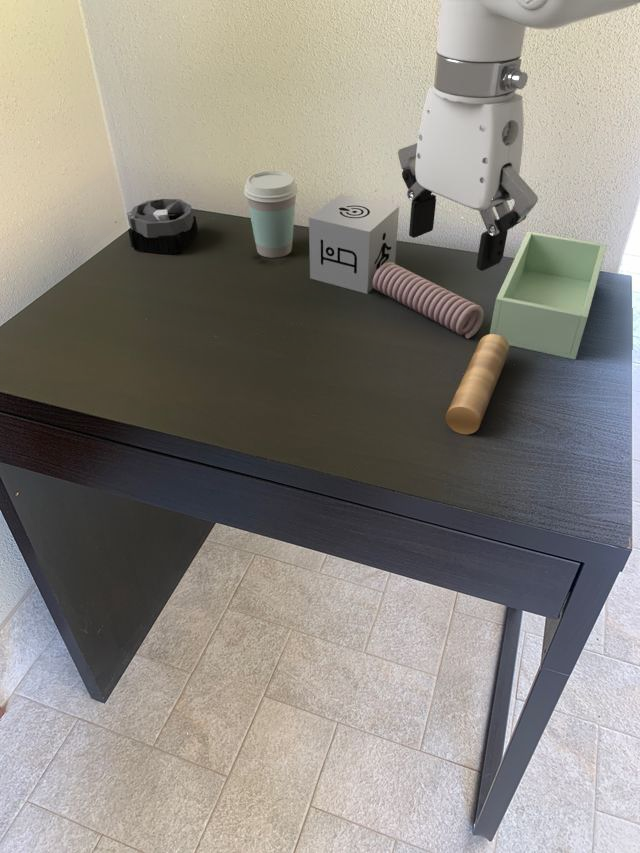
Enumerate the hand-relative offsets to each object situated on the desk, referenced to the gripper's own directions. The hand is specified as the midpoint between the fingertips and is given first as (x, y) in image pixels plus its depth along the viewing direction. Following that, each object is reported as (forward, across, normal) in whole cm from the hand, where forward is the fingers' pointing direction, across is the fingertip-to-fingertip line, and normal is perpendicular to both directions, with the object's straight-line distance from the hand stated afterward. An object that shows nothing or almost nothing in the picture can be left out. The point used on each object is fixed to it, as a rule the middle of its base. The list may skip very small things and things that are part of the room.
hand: (453, 249), depth 73 cm
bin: (+19, +3, -26) cm, 32 cm away
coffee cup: (+19, +44, -7) cm, 48 cm away
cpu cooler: (+19, +58, +6) cm, 62 cm away
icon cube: (+19, +29, -12) cm, 37 cm away
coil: (+19, +14, -12) cm, 27 cm away
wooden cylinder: (+19, -4, -4) cm, 20 cm away
